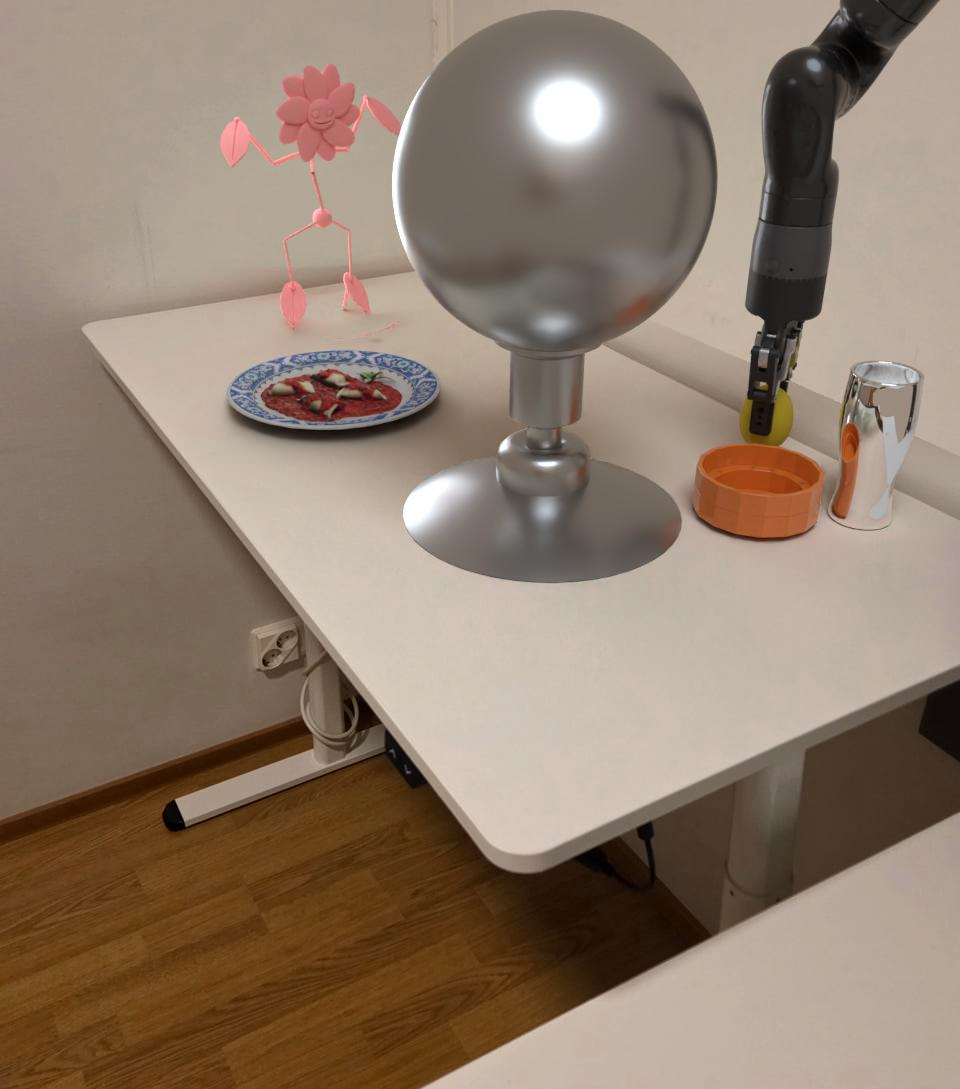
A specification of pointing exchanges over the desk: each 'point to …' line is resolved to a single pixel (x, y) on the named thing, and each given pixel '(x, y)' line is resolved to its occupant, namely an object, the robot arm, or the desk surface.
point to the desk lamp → (551, 271)
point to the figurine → (313, 154)
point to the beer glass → (874, 440)
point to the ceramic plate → (333, 389)
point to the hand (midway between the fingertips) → (766, 422)
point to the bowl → (758, 490)
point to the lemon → (780, 420)
